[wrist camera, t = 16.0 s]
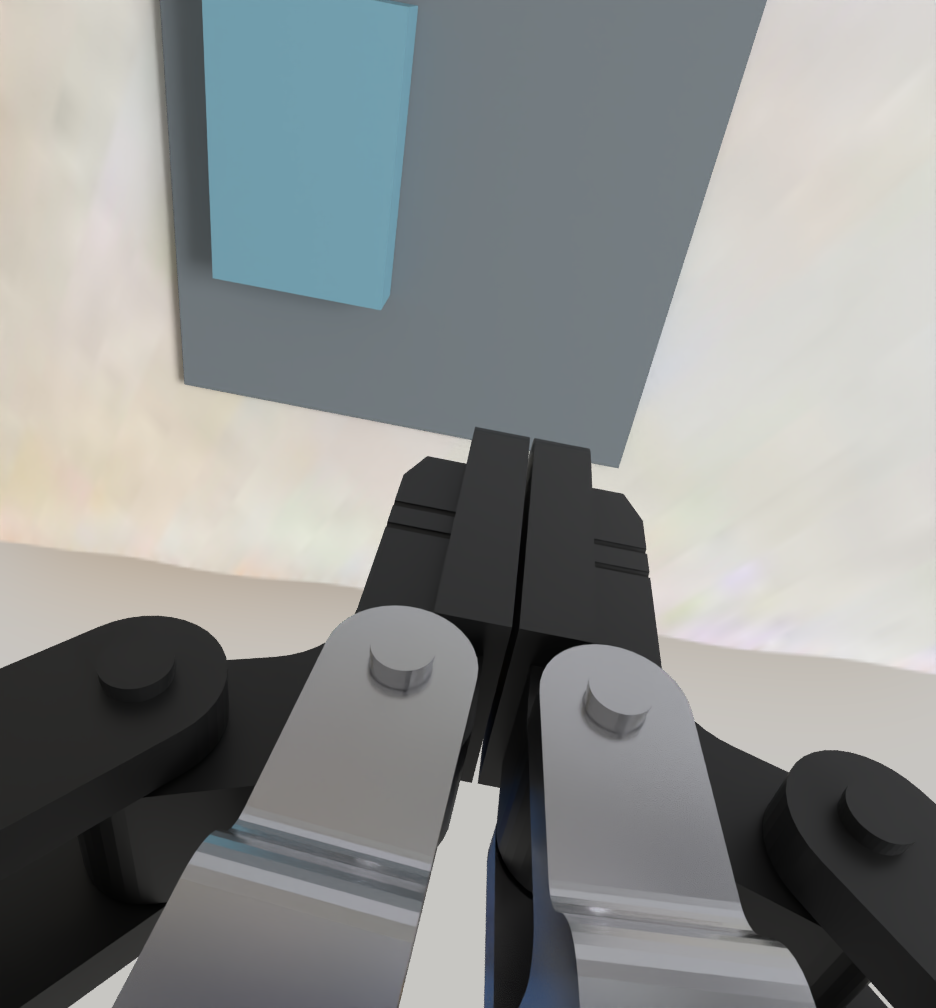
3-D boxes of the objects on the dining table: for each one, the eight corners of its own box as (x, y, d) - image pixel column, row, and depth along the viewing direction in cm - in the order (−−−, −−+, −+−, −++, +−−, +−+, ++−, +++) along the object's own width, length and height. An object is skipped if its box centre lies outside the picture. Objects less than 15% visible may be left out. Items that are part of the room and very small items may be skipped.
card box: (418, 5, 23) (223, -32, 23) (408, 6, 22) (200, -33, 22) (390, 294, 28) (230, 263, 28) (380, 310, 27) (212, 278, 27)
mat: (147, -304, 20) (140, -308, 20) (819, -177, 20) (823, -180, 20) (188, 379, 32) (184, 384, 31) (617, 463, 31) (618, 468, 31)
